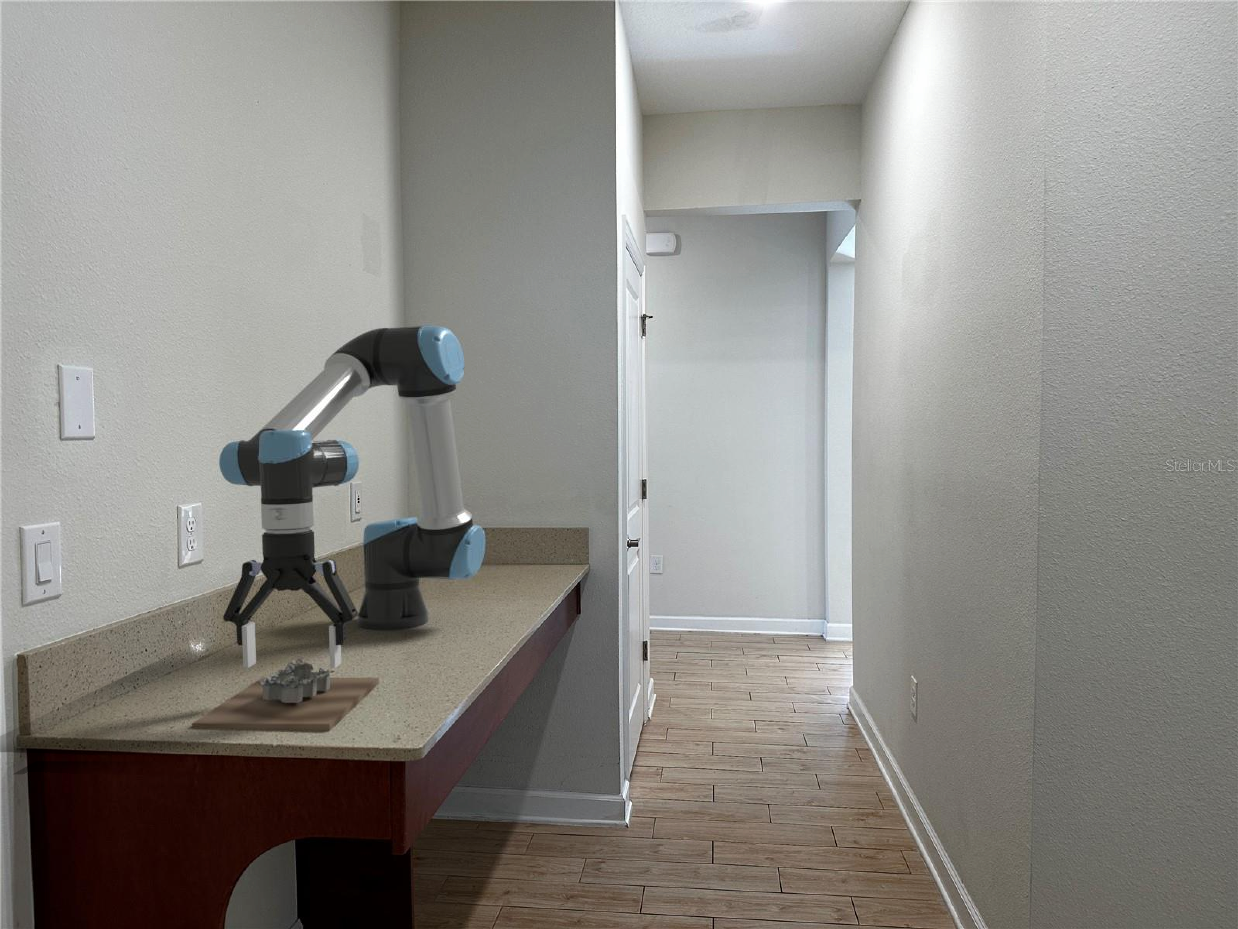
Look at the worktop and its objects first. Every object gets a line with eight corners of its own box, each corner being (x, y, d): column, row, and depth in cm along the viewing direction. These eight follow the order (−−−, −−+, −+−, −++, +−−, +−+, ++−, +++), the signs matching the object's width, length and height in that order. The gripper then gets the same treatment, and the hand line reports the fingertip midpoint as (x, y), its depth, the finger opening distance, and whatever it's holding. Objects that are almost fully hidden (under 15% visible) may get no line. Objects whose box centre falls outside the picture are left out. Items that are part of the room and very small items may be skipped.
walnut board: (262, 684, 144) (261, 677, 144) (378, 684, 143) (378, 677, 143) (192, 731, 122) (192, 723, 122) (329, 732, 121) (329, 723, 121)
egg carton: (300, 680, 140) (302, 656, 140) (338, 688, 137) (339, 663, 137) (252, 698, 130) (253, 671, 130) (291, 706, 127) (293, 679, 127)
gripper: (195, 533, 128) (201, 672, 129) (359, 532, 127) (363, 672, 128) (220, 527, 136) (226, 658, 137) (375, 526, 135) (379, 658, 136)
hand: (292, 665), depth 133 cm, fingers open, 13 cm apart
